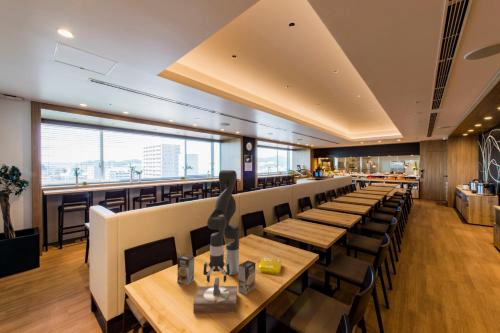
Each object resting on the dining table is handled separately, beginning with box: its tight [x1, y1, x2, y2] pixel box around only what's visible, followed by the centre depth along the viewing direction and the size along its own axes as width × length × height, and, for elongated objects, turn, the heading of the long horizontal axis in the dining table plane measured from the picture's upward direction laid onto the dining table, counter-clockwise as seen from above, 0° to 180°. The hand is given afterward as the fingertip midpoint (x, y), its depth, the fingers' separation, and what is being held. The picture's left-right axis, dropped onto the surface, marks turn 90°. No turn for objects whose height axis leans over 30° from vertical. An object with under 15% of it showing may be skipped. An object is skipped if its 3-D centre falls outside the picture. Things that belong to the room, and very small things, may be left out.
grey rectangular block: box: [213, 277, 220, 301], centre depth 114 cm, size 10×4×7 cm, turn 2°
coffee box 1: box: [177, 253, 195, 285], centre depth 137 cm, size 9×6×16 cm
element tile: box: [258, 257, 282, 275], centre depth 155 cm, size 15×15×5 cm
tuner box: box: [192, 285, 238, 314], centre depth 116 cm, size 15×22×6 cm
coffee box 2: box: [237, 259, 256, 296], centre depth 128 cm, size 9×6×16 cm
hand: (216, 281), depth 116 cm, fingers open, 8 cm apart
